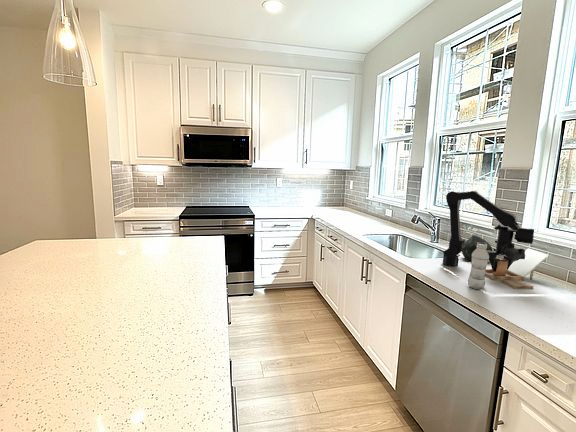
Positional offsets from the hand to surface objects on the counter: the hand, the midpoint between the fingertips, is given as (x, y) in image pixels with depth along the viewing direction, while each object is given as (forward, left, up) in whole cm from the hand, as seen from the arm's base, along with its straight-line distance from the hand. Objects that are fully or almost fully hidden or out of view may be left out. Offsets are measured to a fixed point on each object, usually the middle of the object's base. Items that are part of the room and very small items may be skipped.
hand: (499, 271), depth 146 cm
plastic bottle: (-21, -13, -3) cm, 25 cm away
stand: (-1, -12, -3) cm, 12 cm away
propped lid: (+13, 0, -3) cm, 13 cm away
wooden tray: (0, 0, -3) cm, 3 cm away
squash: (+8, +27, -3) cm, 28 cm away
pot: (0, 0, -2) cm, 2 cm away
